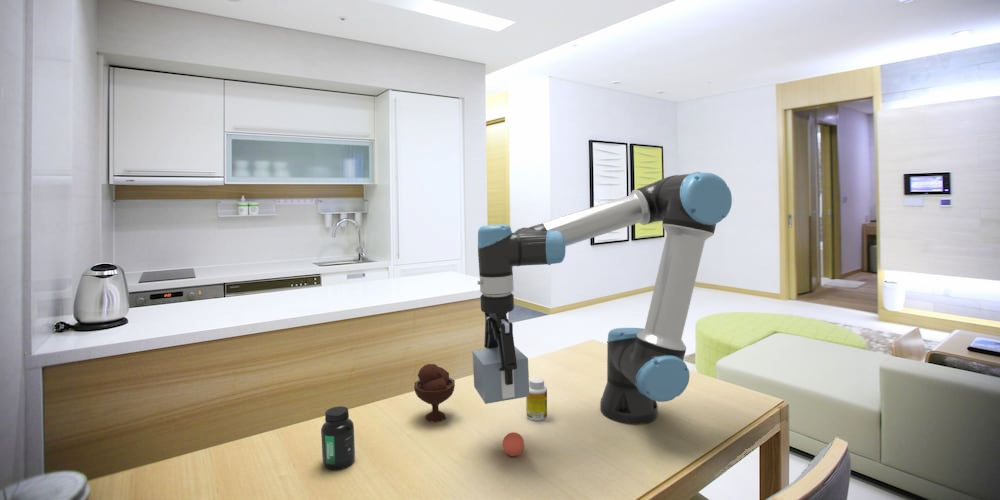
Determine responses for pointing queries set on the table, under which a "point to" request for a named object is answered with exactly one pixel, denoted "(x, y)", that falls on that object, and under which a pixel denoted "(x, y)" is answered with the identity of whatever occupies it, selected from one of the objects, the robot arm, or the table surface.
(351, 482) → the table surface
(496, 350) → the block
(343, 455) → the supplement bottle
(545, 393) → the supplement bottle
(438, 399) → the ice cream bowl
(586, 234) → the robot arm
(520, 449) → the ball
